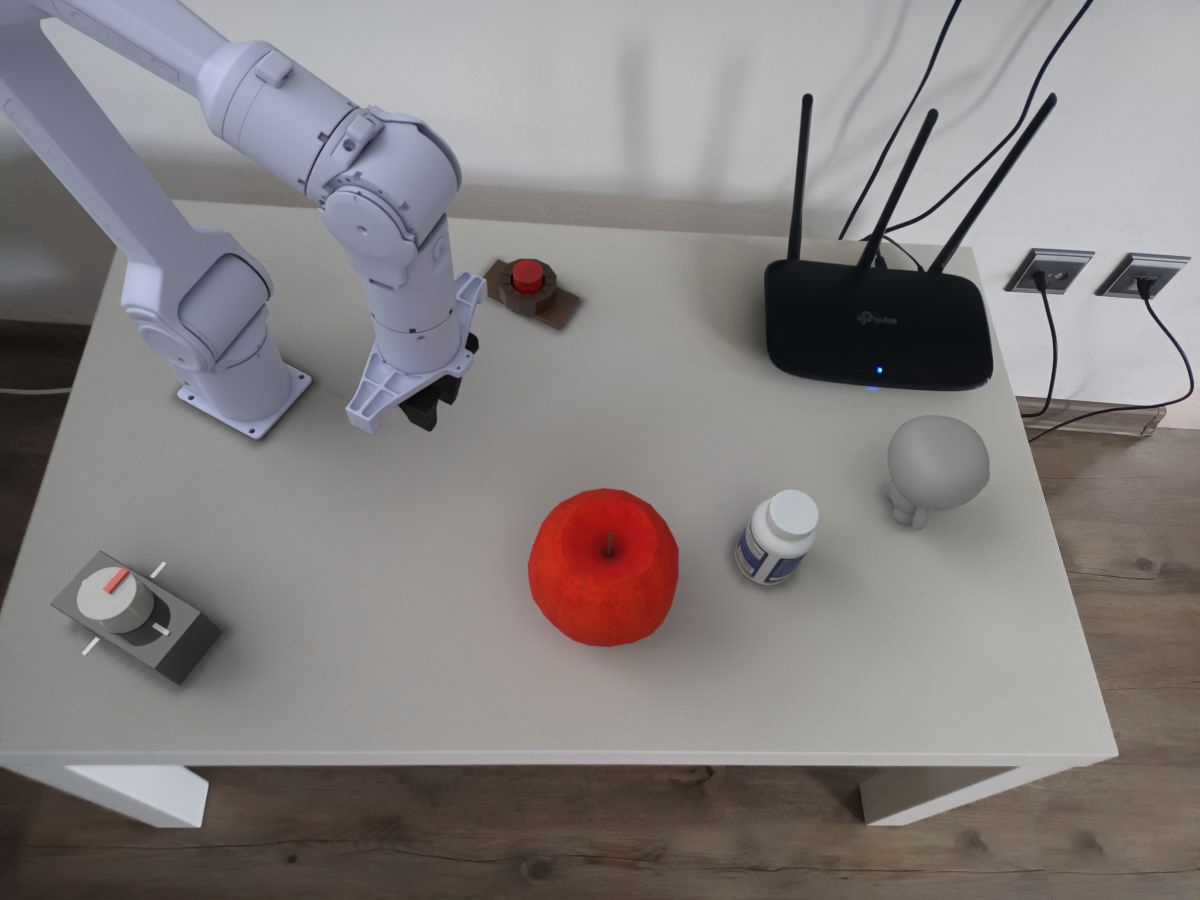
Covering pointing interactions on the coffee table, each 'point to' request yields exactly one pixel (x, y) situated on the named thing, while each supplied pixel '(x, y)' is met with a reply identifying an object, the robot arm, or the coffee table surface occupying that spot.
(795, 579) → the coffee table surface
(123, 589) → the hob knob
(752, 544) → the pill bottle
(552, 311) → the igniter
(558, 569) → the apple
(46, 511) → the coffee table surface
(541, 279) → the button
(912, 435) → the figurine
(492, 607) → the coffee table surface
